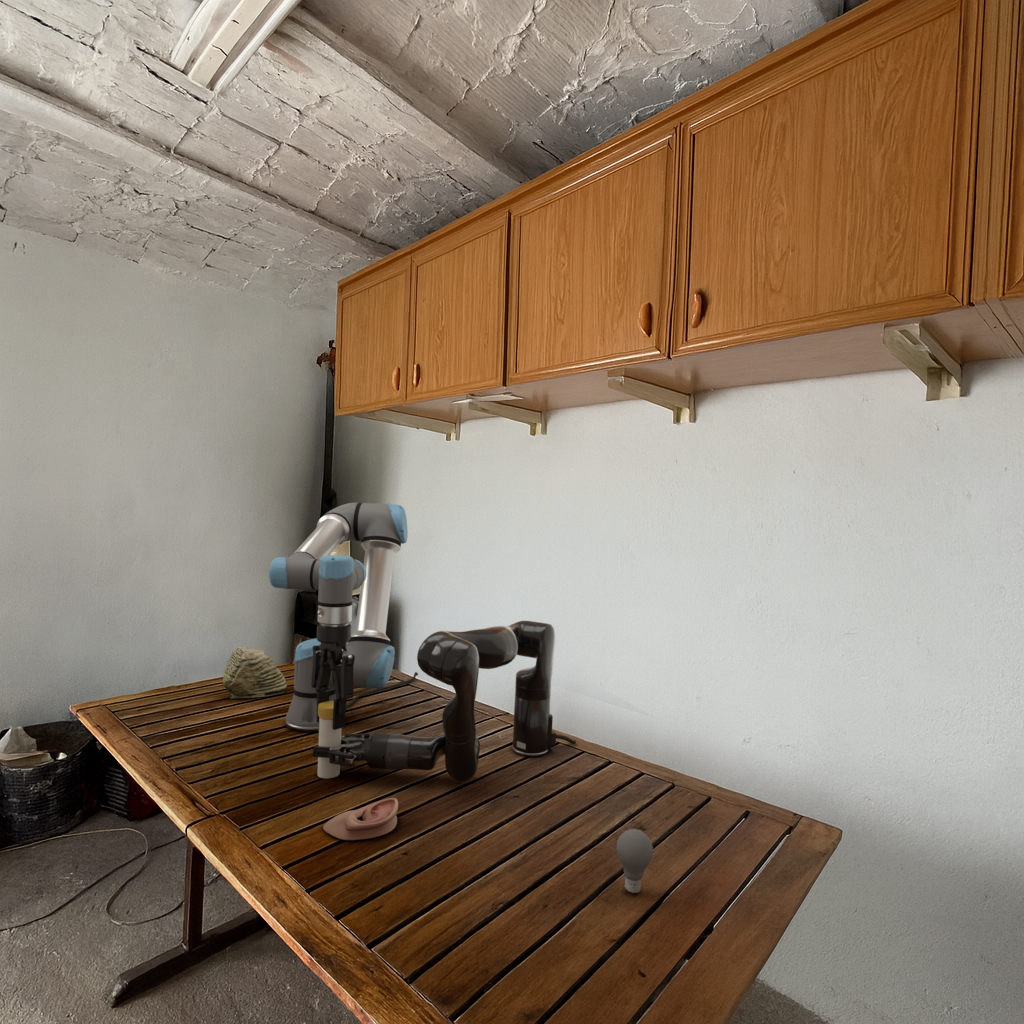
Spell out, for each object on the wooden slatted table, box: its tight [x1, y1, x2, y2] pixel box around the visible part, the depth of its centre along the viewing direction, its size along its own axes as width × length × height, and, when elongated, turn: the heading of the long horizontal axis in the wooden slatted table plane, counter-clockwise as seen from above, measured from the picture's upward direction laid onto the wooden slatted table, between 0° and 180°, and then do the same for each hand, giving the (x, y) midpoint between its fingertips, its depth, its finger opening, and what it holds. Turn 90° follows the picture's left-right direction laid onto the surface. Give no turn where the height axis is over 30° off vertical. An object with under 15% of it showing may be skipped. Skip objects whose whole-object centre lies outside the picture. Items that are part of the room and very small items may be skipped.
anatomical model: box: [322, 797, 399, 841], centre depth 122 cm, size 13×4×12 cm
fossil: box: [222, 646, 288, 699], centre depth 198 cm, size 9×18×15 cm, turn 132°
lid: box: [318, 701, 334, 719], centre depth 145 cm, size 6×6×2 cm
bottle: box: [316, 717, 342, 779], centre depth 145 cm, size 5×5×15 cm
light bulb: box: [615, 828, 654, 894], centre depth 106 cm, size 6×6×10 cm
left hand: (330, 724), depth 145 cm, fingers open, 6 cm apart
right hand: (318, 746), depth 145 cm, fingers closed on bottle, 5 cm apart
